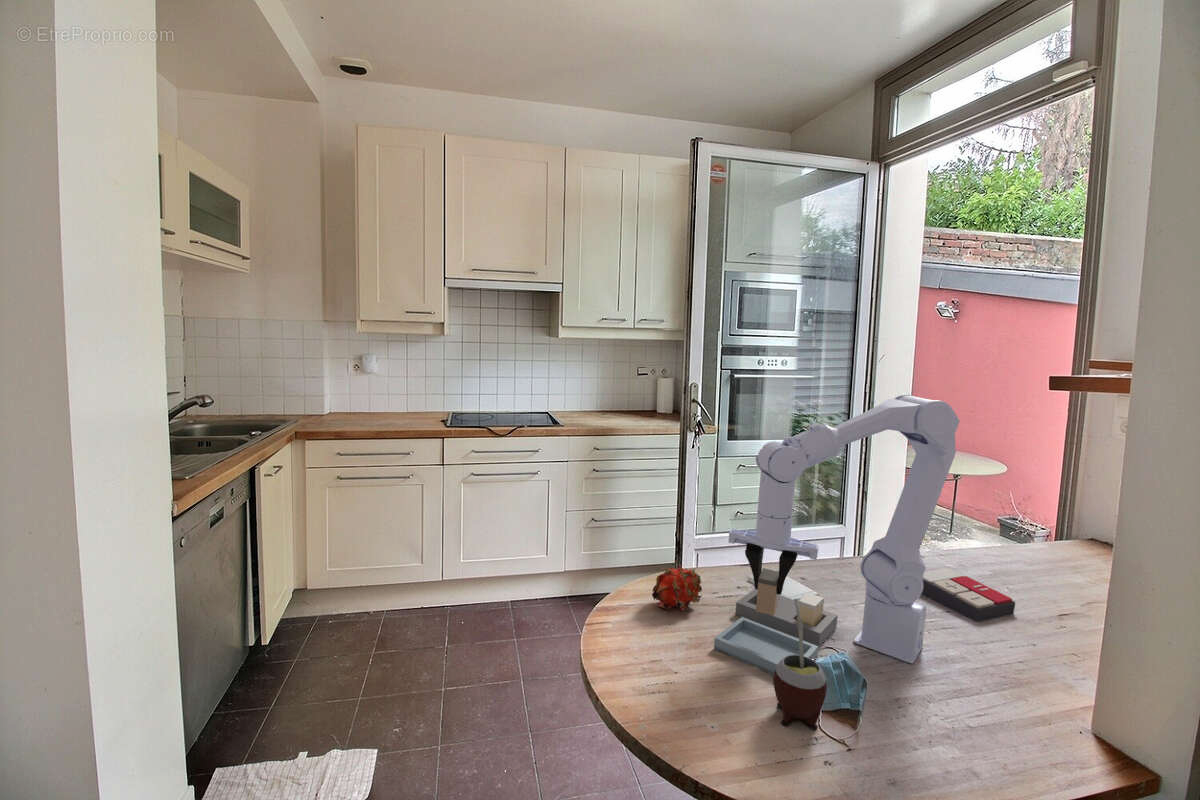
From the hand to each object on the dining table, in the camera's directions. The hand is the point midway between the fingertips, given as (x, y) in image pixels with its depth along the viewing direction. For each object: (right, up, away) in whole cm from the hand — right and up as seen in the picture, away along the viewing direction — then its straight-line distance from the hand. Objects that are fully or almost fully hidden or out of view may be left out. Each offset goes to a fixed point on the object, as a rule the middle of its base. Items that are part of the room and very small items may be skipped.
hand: (768, 589), depth 99 cm
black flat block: (+46, -10, +21) cm, 52 cm away
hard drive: (+10, -8, +23) cm, 27 cm away
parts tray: (-1, -10, -2) cm, 10 cm away
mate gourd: (-1, -12, -17) cm, 21 cm away
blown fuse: (0, -3, +1) cm, 3 cm away
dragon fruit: (-14, -8, +13) cm, 21 cm away
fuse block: (+6, -9, +9) cm, 14 cm away
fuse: (+9, -10, +7) cm, 15 cm away
